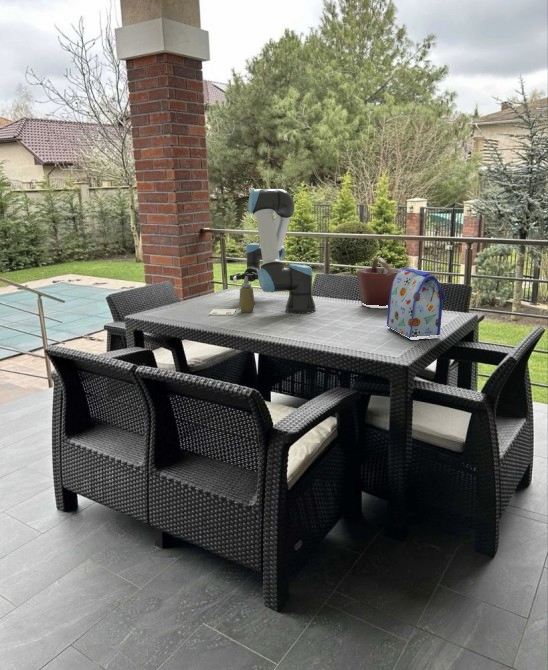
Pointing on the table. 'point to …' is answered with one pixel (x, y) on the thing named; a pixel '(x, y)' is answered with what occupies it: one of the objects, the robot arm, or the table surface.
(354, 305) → the table surface
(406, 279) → the lunch bag
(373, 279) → the bucket
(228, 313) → the card
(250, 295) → the squeeze bottle
